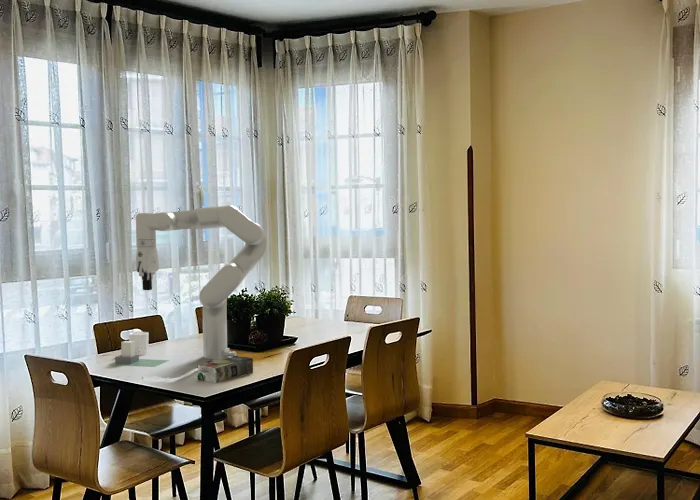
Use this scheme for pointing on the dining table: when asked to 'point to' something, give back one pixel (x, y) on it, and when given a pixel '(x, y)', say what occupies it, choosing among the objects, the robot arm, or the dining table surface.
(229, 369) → the juice carton
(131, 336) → the white cup
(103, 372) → the dining table surface
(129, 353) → the cream rectangular block
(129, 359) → the board
